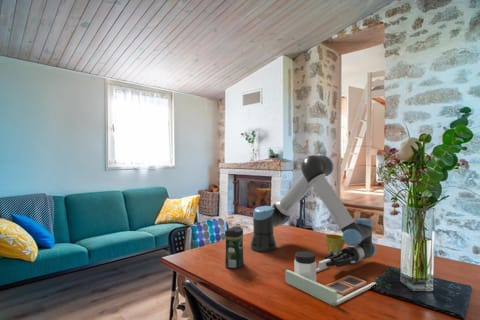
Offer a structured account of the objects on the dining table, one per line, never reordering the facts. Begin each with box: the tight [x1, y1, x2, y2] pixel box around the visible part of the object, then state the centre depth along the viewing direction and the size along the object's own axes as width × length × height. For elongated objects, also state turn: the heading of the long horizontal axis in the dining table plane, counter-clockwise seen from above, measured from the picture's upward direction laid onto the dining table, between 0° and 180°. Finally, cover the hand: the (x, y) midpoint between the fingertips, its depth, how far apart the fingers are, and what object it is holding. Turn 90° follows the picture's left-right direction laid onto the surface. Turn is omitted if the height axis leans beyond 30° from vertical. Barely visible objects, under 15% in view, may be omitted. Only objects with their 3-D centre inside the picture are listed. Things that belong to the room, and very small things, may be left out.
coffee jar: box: [224, 225, 245, 270], centre depth 138 cm, size 10×8×19 cm
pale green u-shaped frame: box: [284, 266, 377, 307], centre depth 117 cm, size 28×24×5 cm
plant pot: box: [324, 233, 346, 255], centre depth 153 cm, size 10×10×10 cm
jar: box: [293, 250, 317, 282], centre depth 118 cm, size 9×8×12 cm
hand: (319, 265), depth 121 cm, fingers closed
